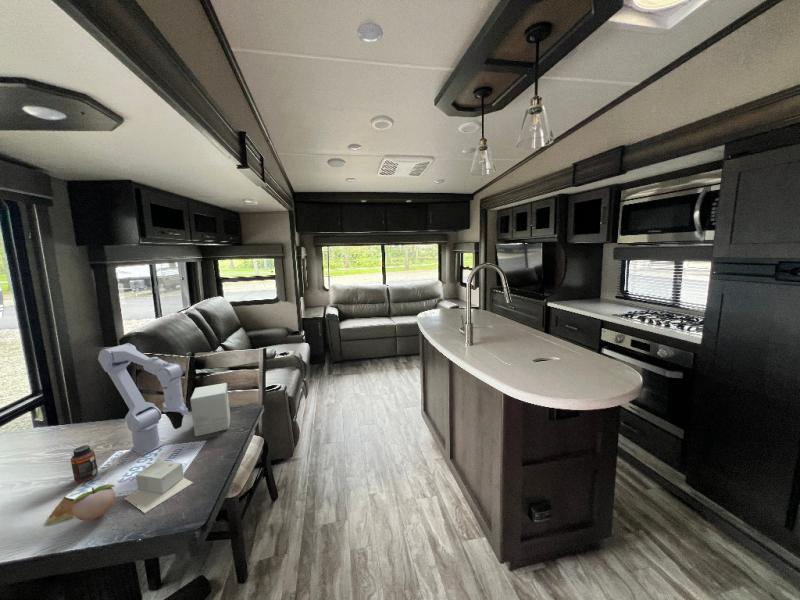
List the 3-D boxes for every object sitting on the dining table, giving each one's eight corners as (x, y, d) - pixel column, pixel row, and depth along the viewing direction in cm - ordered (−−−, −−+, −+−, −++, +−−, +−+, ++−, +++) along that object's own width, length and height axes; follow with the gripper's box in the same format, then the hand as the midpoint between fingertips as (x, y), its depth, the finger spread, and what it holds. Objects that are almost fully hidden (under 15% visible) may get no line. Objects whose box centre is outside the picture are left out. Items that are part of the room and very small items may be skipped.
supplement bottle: (102, 473, 112) (97, 444, 110) (81, 485, 106) (75, 455, 105) (92, 470, 114) (87, 441, 112) (70, 481, 108) (65, 451, 106)
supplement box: (231, 415, 151) (227, 382, 149) (229, 429, 139) (225, 392, 137) (199, 422, 146) (194, 387, 143) (194, 437, 134) (189, 399, 131)
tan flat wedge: (64, 500, 100) (63, 496, 100) (96, 492, 103) (95, 487, 103) (45, 526, 90) (44, 521, 90) (80, 516, 94) (79, 511, 93)
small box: (137, 490, 103) (162, 494, 101) (134, 474, 102) (160, 479, 100) (160, 473, 111) (184, 477, 108) (158, 459, 110) (182, 462, 108)
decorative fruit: (81, 536, 86) (75, 504, 85) (71, 524, 90) (65, 493, 89) (124, 511, 94) (119, 482, 93) (112, 501, 98) (108, 473, 97)
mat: (124, 499, 99) (124, 498, 99) (172, 472, 112) (171, 471, 112) (144, 513, 94) (144, 512, 94) (193, 483, 106) (192, 482, 106)
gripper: (151, 395, 120) (156, 428, 122) (172, 403, 113) (176, 437, 115) (172, 388, 126) (176, 419, 128) (192, 395, 119) (196, 428, 121)
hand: (177, 427), depth 122 cm, fingers closed
